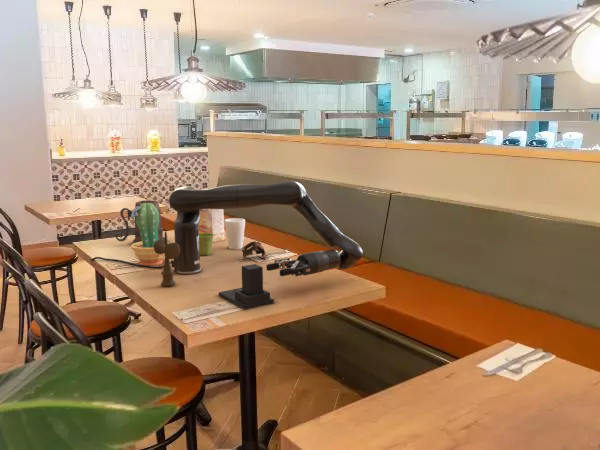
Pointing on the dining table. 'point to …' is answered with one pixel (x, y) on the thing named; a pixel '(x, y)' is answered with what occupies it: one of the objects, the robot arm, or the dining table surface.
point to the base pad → (246, 298)
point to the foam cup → (235, 232)
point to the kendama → (167, 259)
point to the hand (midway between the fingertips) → (273, 270)
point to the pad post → (252, 279)
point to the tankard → (136, 231)
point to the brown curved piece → (254, 249)
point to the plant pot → (205, 243)
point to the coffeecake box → (212, 223)
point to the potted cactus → (147, 234)
